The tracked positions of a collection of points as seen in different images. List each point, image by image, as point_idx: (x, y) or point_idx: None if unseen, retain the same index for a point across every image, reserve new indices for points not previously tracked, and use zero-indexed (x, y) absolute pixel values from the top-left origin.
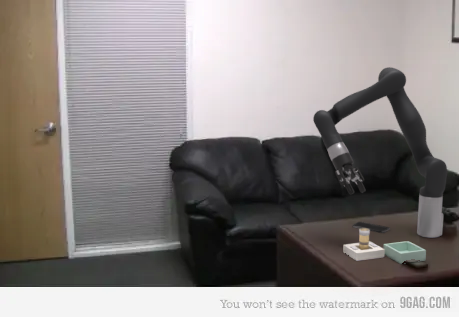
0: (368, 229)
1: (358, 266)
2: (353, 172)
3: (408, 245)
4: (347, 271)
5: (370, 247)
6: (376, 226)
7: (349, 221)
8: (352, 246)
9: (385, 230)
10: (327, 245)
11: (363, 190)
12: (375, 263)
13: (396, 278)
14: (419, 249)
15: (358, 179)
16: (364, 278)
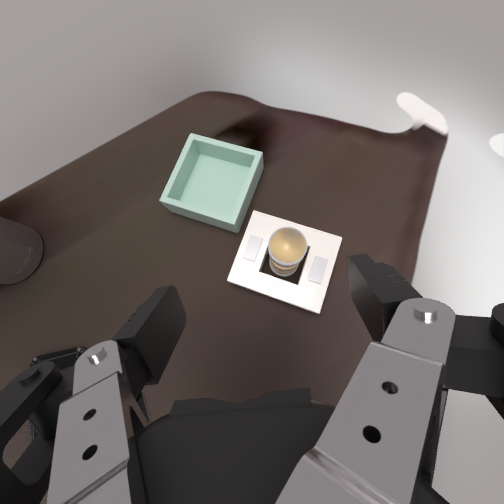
0: (273, 237)
1: (361, 216)
2: (140, 499)
3: (172, 196)
4: (411, 210)
5: (266, 248)
6: None
7: None
8: (315, 277)
9: (67, 350)
10: (310, 389)
11: (174, 299)
12: (309, 204)
13: (343, 123)
14: (189, 153)
15: (126, 378)
16: (406, 160)
